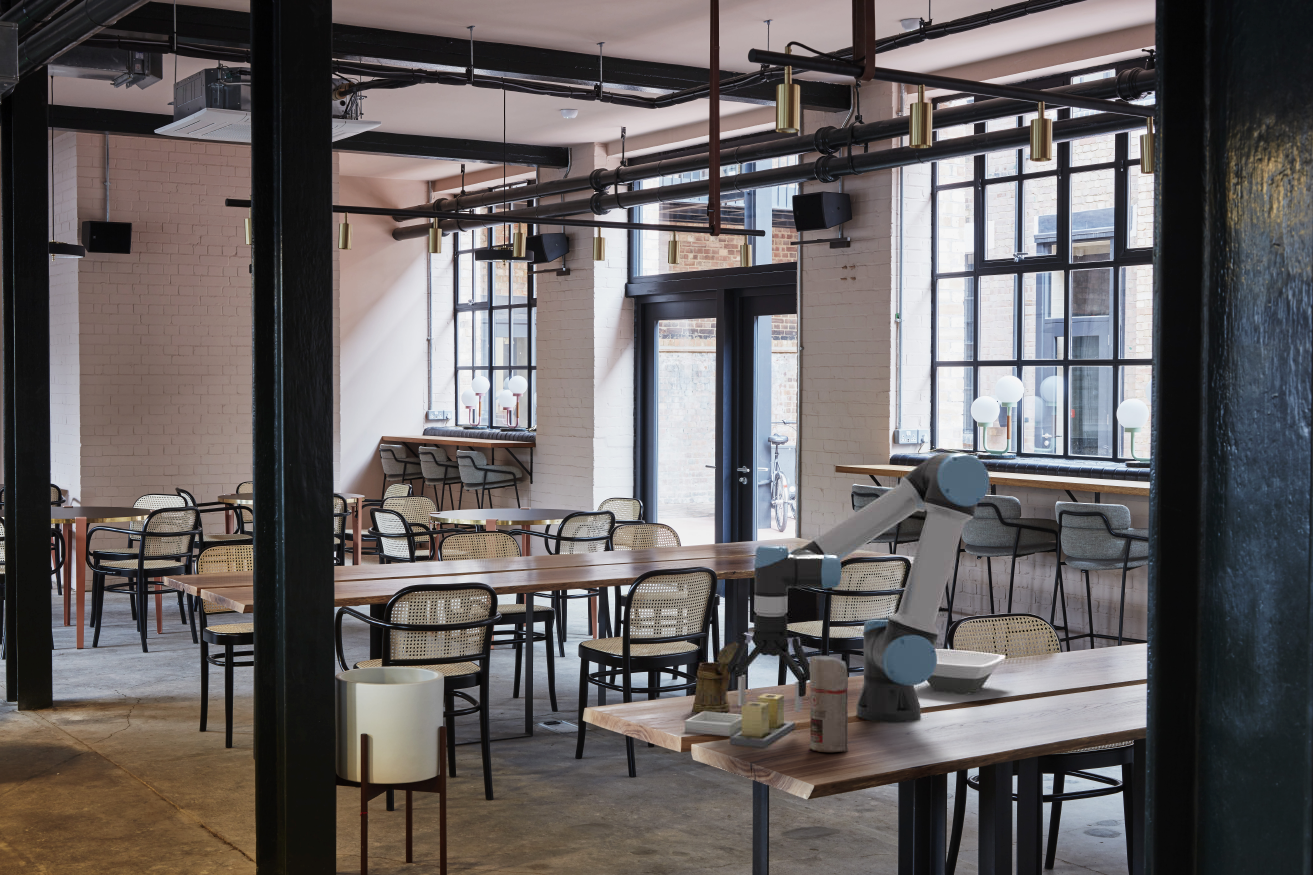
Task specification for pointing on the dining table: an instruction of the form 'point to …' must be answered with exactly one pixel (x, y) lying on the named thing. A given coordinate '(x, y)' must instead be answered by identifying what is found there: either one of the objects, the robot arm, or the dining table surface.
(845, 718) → the spray can
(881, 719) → the robot arm
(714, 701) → the wooden mug
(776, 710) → the brass nut
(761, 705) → the brass nut
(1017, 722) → the dining table surface
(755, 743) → the gray rectangular tray
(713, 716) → the tray
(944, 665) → the bowl
